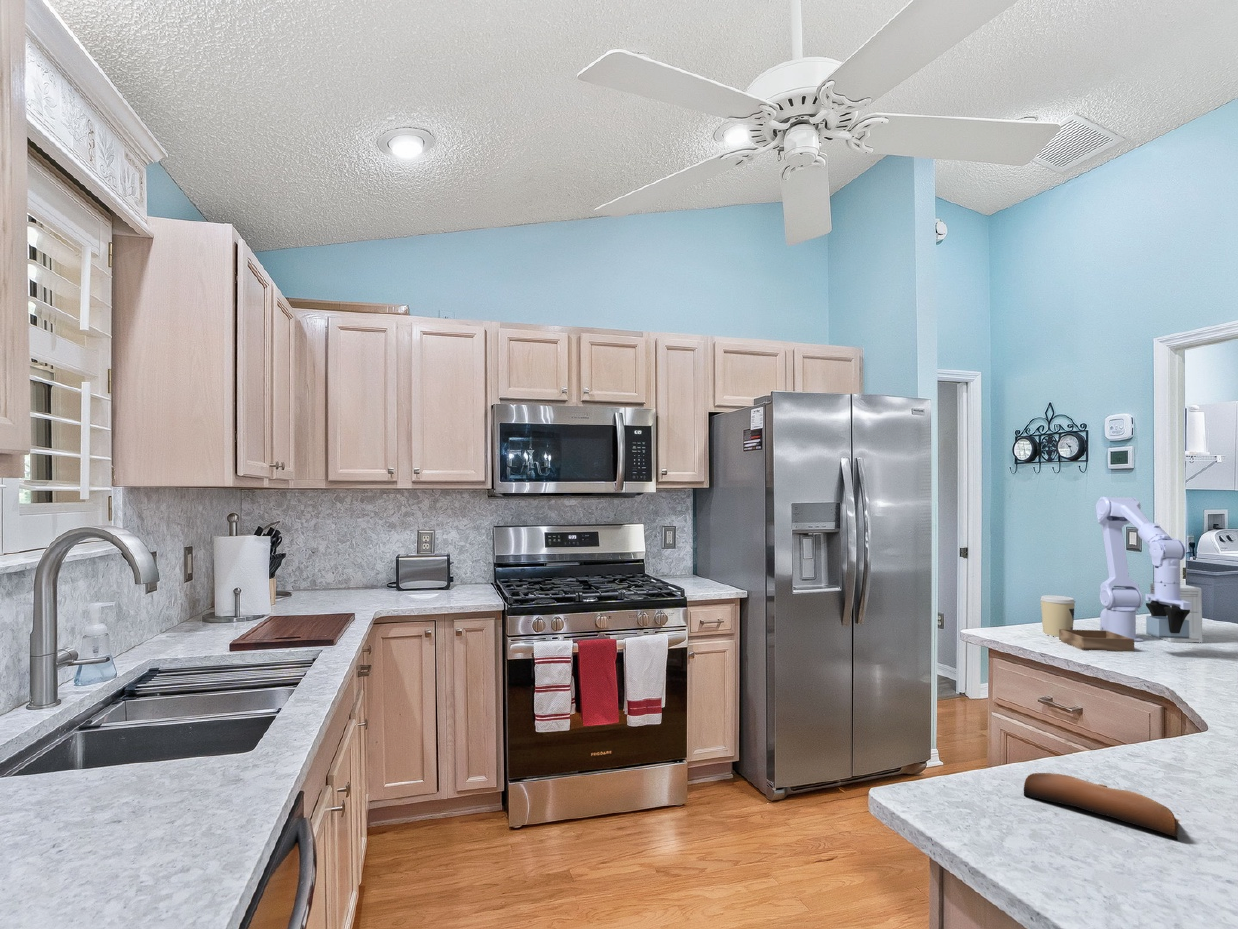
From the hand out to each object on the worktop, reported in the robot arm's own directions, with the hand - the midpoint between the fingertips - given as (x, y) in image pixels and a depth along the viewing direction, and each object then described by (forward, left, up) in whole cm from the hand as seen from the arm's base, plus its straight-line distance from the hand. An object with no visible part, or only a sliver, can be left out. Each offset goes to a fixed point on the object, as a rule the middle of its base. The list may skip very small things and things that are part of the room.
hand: (1167, 631), depth 192 cm
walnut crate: (-9, -14, -7) cm, 18 cm away
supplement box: (-22, +18, -7) cm, 29 cm away
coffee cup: (-23, -17, -7) cm, 29 cm away
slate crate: (0, 0, -1) cm, 1 cm away
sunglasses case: (+99, -79, -8) cm, 126 cm away
